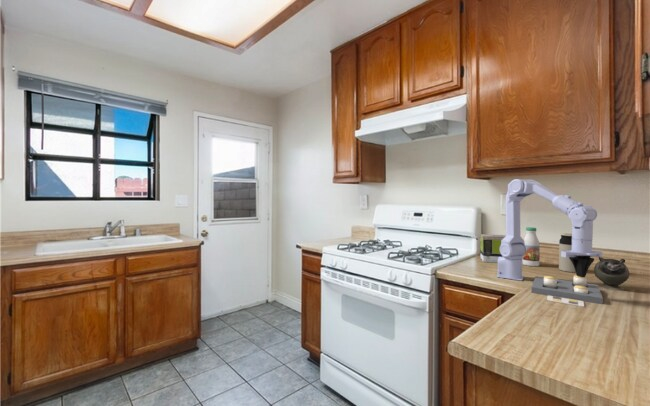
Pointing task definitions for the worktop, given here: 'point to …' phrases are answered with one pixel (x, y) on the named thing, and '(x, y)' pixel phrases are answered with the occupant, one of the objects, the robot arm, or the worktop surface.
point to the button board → (567, 290)
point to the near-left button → (550, 281)
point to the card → (565, 301)
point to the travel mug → (565, 245)
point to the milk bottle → (531, 248)
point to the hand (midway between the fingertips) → (580, 276)
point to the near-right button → (580, 289)
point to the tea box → (490, 247)
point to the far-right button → (579, 280)
